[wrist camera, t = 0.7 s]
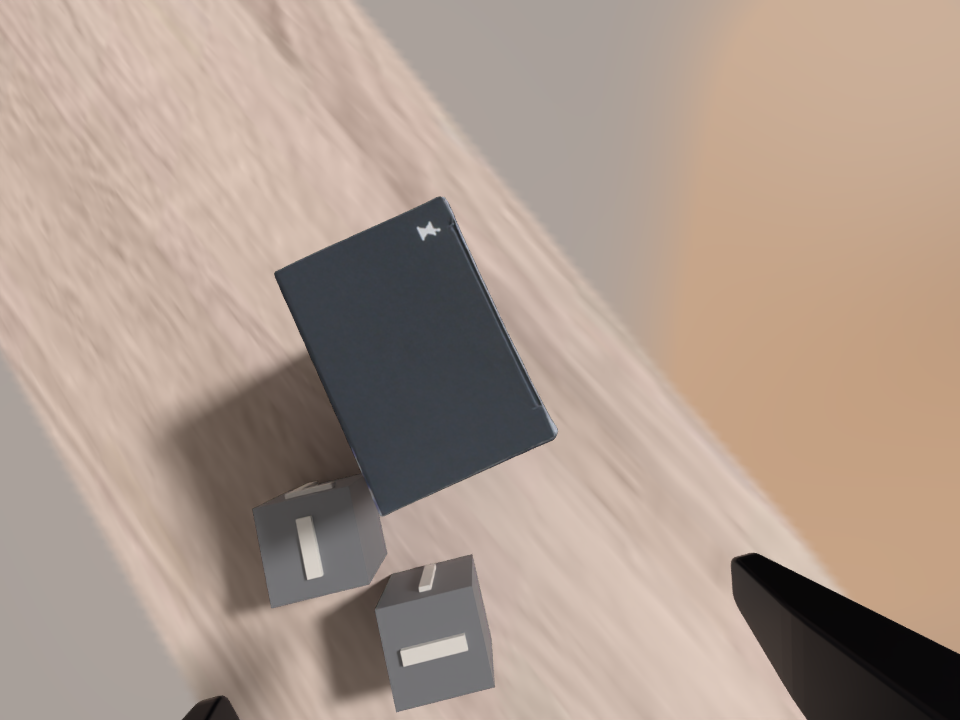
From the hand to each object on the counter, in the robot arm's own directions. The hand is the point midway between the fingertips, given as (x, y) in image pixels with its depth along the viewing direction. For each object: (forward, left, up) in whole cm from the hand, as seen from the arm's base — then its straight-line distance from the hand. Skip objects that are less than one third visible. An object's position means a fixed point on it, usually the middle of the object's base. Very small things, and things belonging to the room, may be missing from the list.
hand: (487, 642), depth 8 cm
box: (+6, +1, -15) cm, 17 cm away
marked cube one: (-5, +3, -15) cm, 16 cm away
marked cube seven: (0, +7, -15) cm, 17 cm away
